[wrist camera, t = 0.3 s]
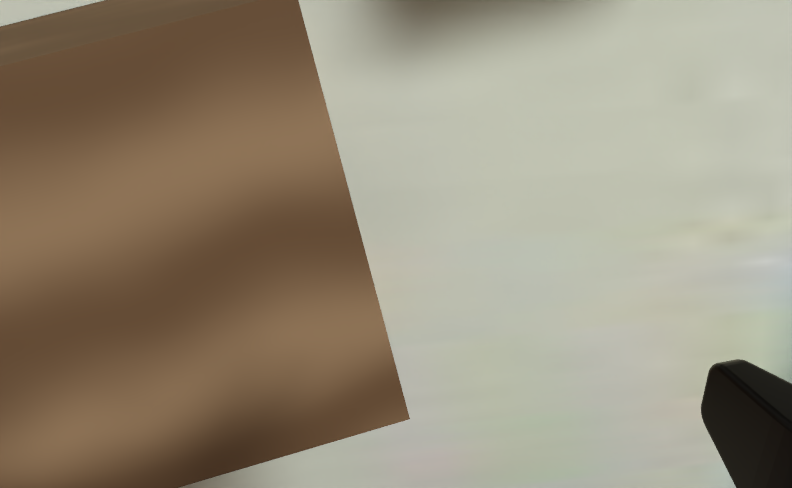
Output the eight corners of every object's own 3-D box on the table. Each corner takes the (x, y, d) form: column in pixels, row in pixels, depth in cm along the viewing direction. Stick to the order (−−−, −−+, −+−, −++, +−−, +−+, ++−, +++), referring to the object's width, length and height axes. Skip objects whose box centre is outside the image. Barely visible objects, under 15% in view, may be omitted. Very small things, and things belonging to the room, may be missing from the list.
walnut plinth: (386, 341, 27) (409, 418, 24) (14, 448, 26) (-16, 544, 23) (282, -45, 19) (295, -9, 16) (-253, 90, 18) (-358, 157, 15)
